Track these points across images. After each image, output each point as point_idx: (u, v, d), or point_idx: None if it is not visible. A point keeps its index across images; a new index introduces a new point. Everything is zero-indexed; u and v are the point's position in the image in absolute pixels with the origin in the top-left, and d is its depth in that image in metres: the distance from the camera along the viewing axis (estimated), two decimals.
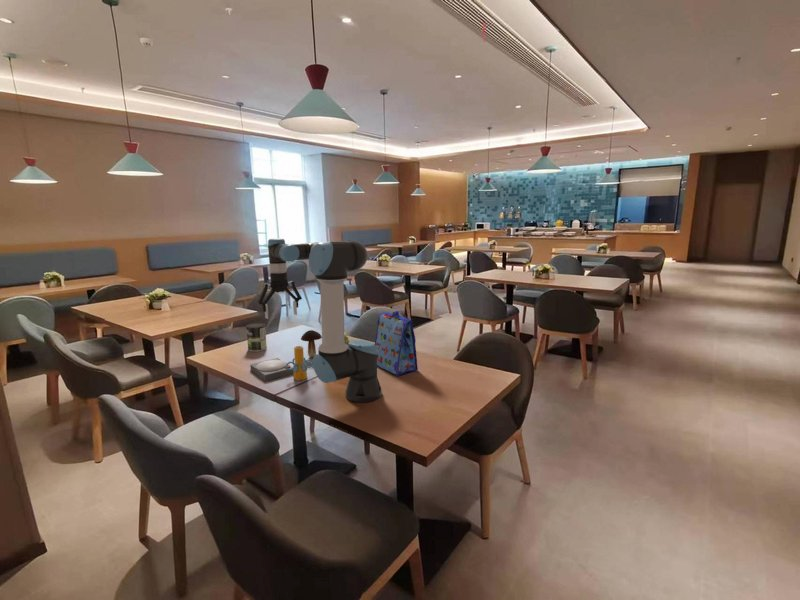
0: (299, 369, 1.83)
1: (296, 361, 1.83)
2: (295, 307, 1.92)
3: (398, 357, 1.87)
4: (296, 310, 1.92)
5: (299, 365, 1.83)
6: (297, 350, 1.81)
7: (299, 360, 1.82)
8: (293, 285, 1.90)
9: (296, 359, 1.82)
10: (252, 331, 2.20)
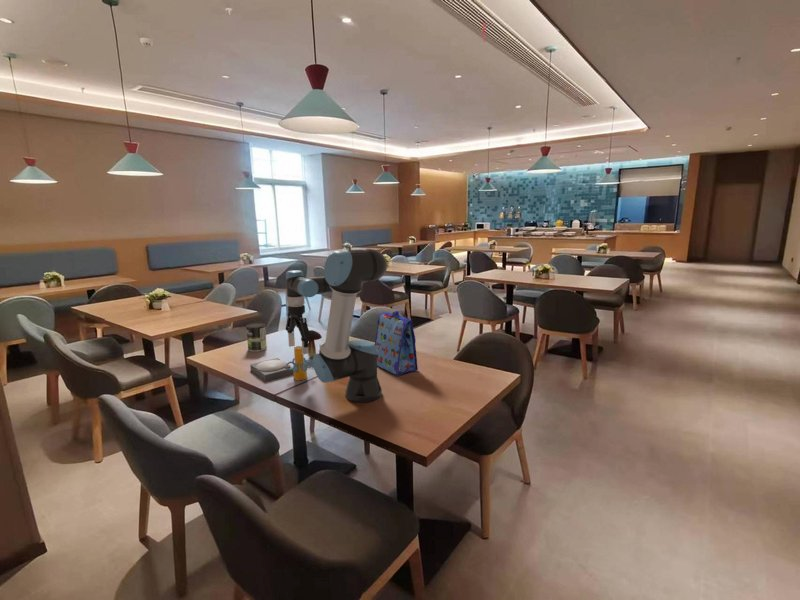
0: (299, 369, 1.83)
1: (296, 361, 1.83)
2: (302, 346, 1.77)
3: (398, 357, 1.87)
4: (302, 349, 1.77)
5: (299, 365, 1.83)
6: (297, 350, 1.81)
7: (299, 360, 1.82)
8: (301, 322, 1.75)
9: (296, 359, 1.82)
10: (252, 331, 2.20)
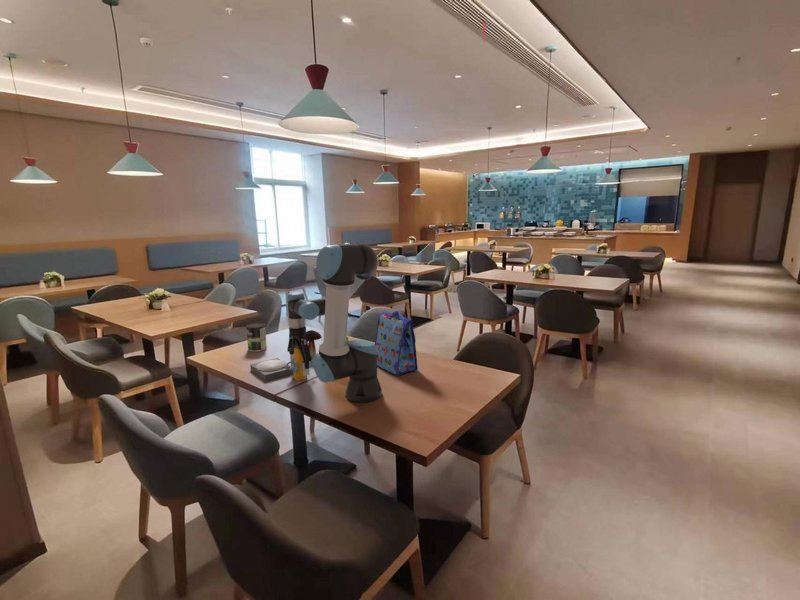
0: (299, 369, 1.83)
1: (296, 361, 1.83)
2: (303, 367, 1.79)
3: (398, 357, 1.87)
4: (303, 371, 1.79)
5: (299, 365, 1.83)
6: (297, 350, 1.81)
7: (299, 360, 1.82)
8: (302, 344, 1.77)
9: (296, 359, 1.82)
10: (252, 331, 2.20)
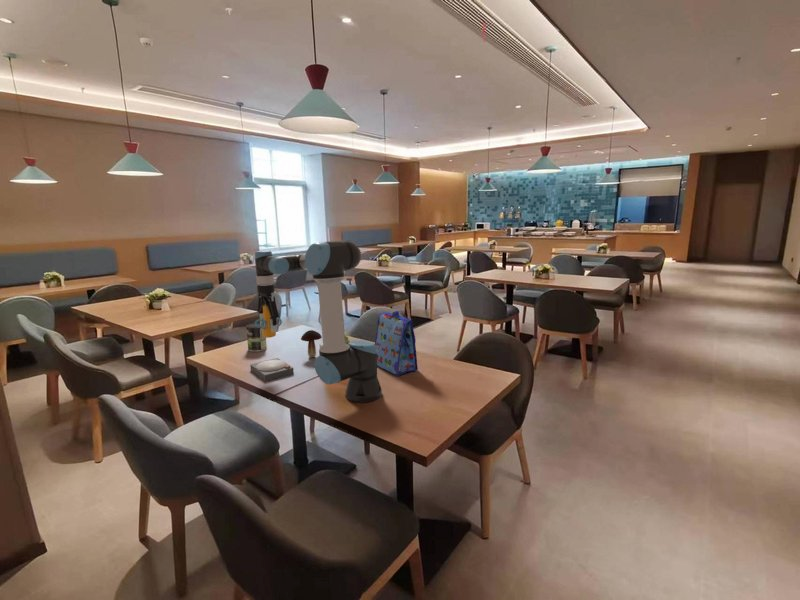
0: (267, 326, 1.86)
1: (265, 319, 1.86)
2: None
3: (398, 357, 1.87)
4: (271, 328, 1.83)
5: (267, 323, 1.87)
6: (265, 307, 1.85)
7: (267, 318, 1.86)
8: (269, 301, 1.81)
9: (264, 317, 1.86)
10: (252, 331, 2.20)
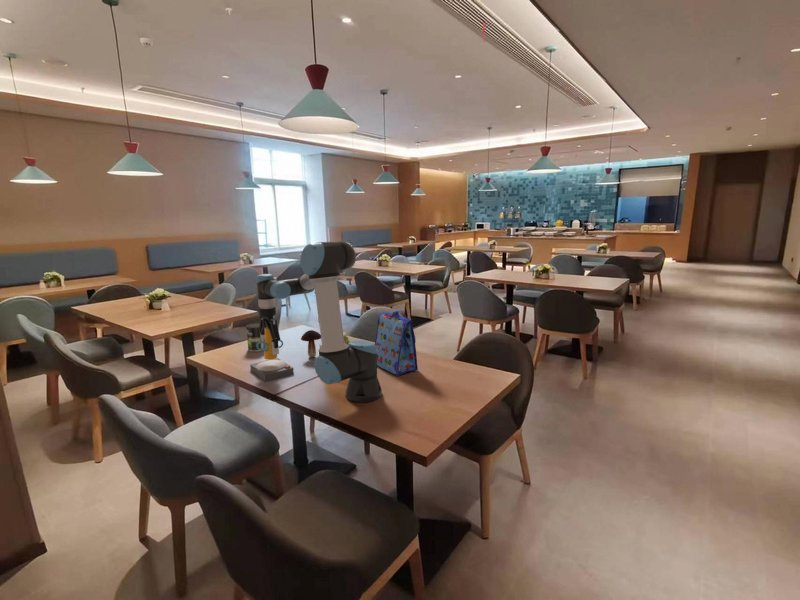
0: (269, 349, 1.89)
1: (266, 341, 1.89)
2: (272, 347, 1.85)
3: (398, 357, 1.87)
4: (273, 350, 1.85)
5: (269, 345, 1.89)
6: (267, 330, 1.87)
7: (269, 340, 1.88)
8: (271, 324, 1.83)
9: (266, 339, 1.88)
10: (252, 331, 2.20)
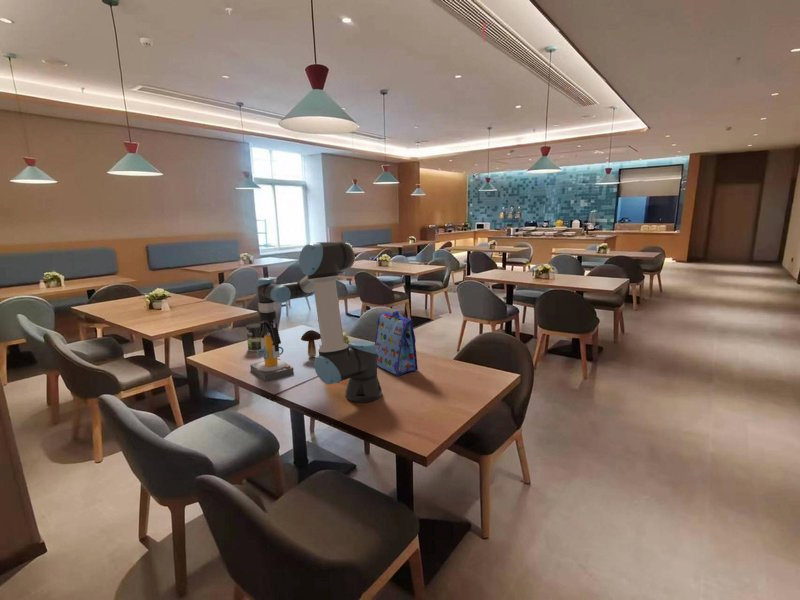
0: (269, 356, 1.89)
1: (266, 348, 1.89)
2: (273, 350, 1.85)
3: (398, 357, 1.87)
4: (273, 353, 1.85)
5: (269, 352, 1.89)
6: (267, 337, 1.88)
7: (269, 347, 1.89)
8: (271, 327, 1.83)
9: (266, 346, 1.89)
10: (252, 331, 2.20)
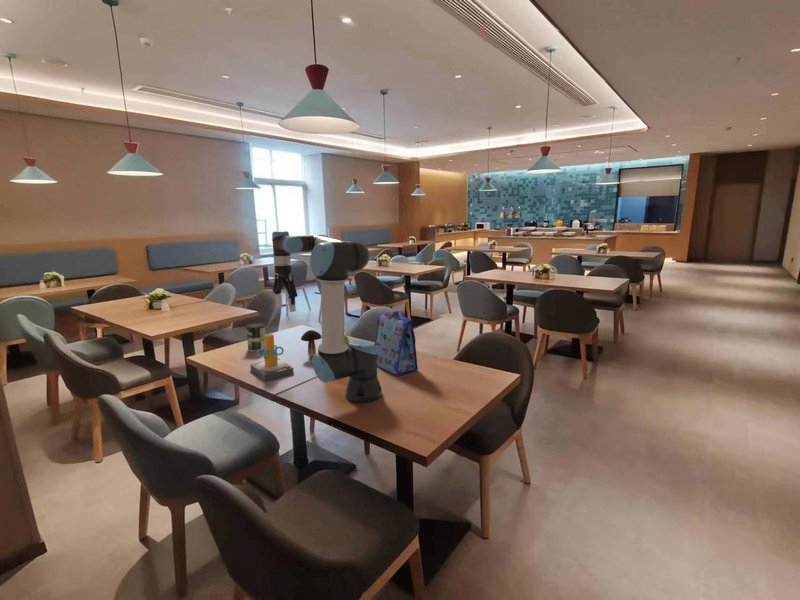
0: (270, 356, 1.90)
1: (267, 348, 1.89)
2: (289, 304, 1.83)
3: (398, 357, 1.87)
4: (289, 307, 1.83)
5: (270, 352, 1.90)
6: (267, 337, 1.88)
7: (269, 347, 1.89)
8: (287, 280, 1.81)
9: (267, 346, 1.89)
10: (252, 331, 2.20)
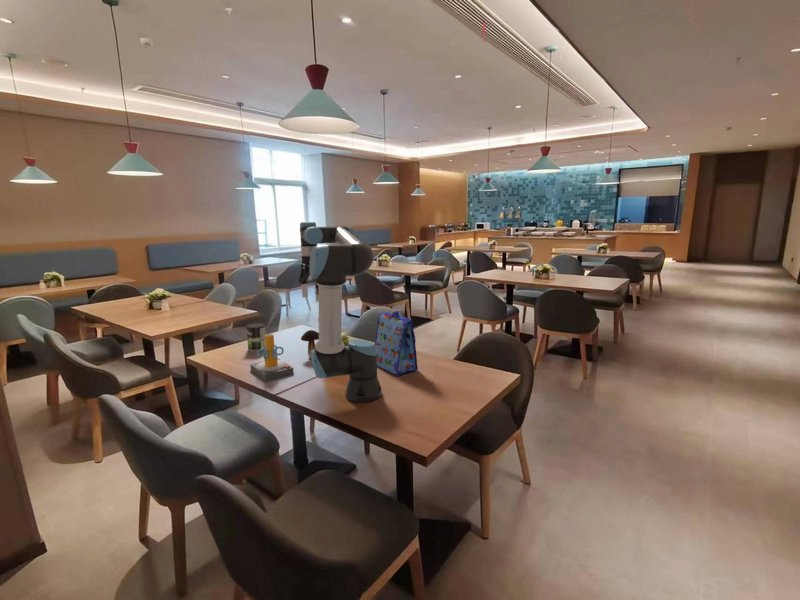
0: (270, 356, 1.89)
1: (267, 348, 1.89)
2: (315, 293, 1.86)
3: (398, 357, 1.87)
4: (316, 297, 1.86)
5: (270, 352, 1.90)
6: (268, 337, 1.88)
7: (270, 347, 1.89)
8: None
9: (267, 346, 1.89)
10: (252, 331, 2.20)
